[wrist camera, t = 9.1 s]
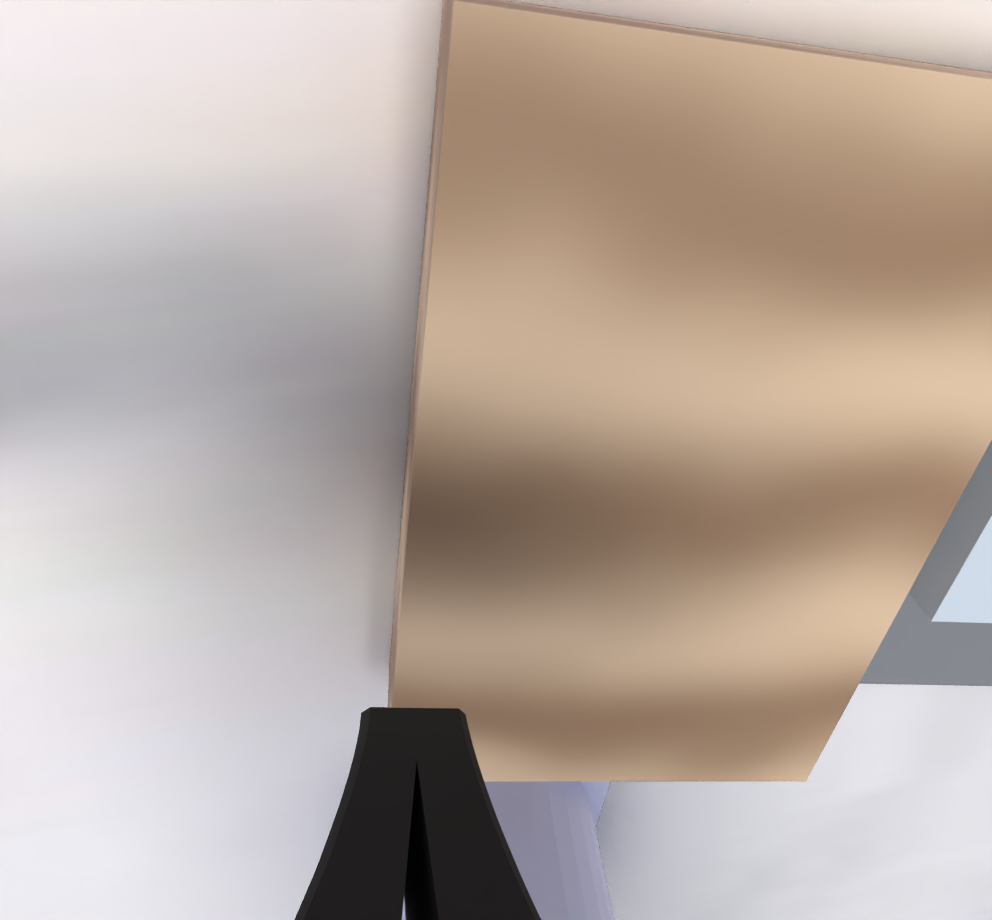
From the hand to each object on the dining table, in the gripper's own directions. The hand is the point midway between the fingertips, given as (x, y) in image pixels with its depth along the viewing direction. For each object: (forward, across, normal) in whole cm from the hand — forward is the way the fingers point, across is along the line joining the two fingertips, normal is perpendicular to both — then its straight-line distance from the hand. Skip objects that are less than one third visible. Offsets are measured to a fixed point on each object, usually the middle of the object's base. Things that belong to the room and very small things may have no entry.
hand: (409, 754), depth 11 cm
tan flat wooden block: (+10, -6, 0) cm, 12 cm away
